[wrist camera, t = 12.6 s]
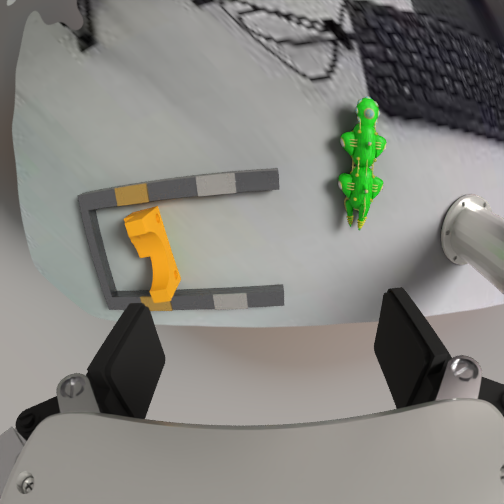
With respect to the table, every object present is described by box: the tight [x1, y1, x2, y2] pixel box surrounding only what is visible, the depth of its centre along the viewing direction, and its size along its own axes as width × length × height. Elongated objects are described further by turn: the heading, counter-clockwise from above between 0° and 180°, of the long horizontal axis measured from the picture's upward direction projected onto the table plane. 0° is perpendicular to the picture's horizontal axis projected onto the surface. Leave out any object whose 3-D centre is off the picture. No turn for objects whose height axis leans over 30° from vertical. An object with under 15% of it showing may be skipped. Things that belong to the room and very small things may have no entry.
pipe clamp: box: [124, 206, 181, 303], centre depth 39 cm, size 12×4×6 cm, turn 12°
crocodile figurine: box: [338, 97, 386, 230], centre depth 35 cm, size 7×18×4 cm, turn 0°
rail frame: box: [78, 168, 284, 311], centre depth 41 cm, size 30×20×2 cm
